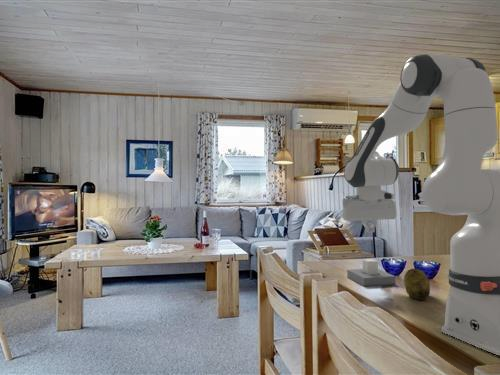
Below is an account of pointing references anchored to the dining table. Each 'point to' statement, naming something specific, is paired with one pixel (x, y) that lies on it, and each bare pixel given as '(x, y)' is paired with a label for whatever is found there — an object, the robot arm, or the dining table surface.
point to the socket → (371, 278)
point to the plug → (370, 266)
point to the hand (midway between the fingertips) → (369, 232)
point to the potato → (417, 284)
